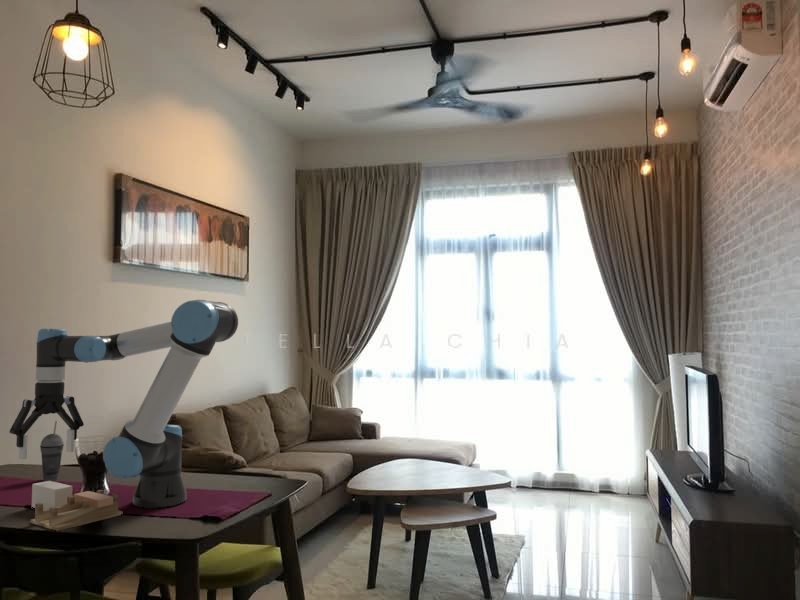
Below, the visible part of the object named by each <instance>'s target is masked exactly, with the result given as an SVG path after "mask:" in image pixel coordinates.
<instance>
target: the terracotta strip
mask: <svg viewBox="0 0 800 600" xmlns="http://www.w3.org/2000/svg"><path fill="white" fill-rule="evenodd" d="M72 496H73V497H75V502H78V503H82V500H89V506H93V507H97V508H100V507H104V506H108V505H112V504H113V497H112V496H110V495H107V494H104V495H103V494H99V493H97V492H95V491H91V490H87V491H81V492H78V493H74V494H72Z"/></svg>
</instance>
